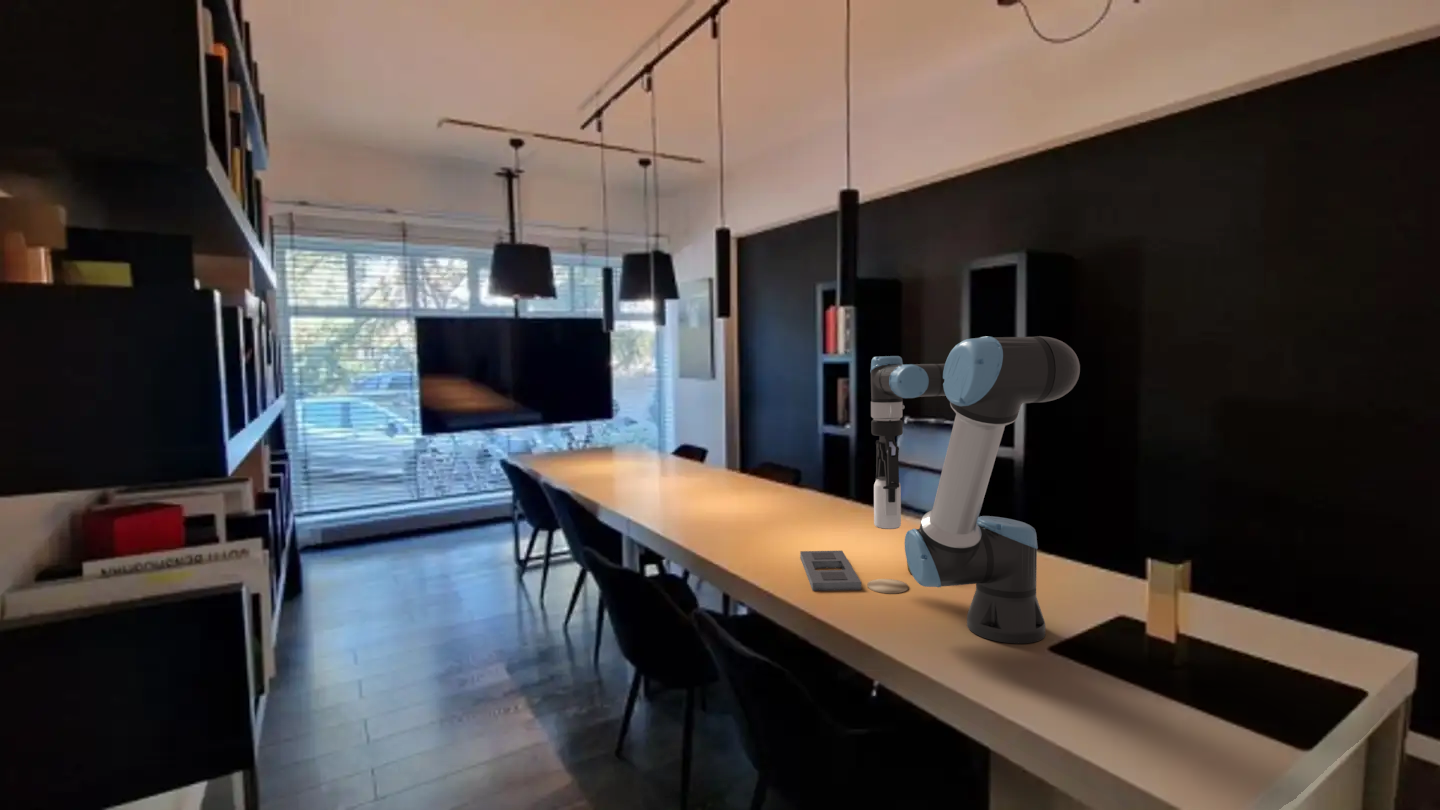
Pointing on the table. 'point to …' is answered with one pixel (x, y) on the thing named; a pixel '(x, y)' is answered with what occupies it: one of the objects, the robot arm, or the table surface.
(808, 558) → the panel
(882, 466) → the robot arm
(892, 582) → the coaster
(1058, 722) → the table surface
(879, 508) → the can
